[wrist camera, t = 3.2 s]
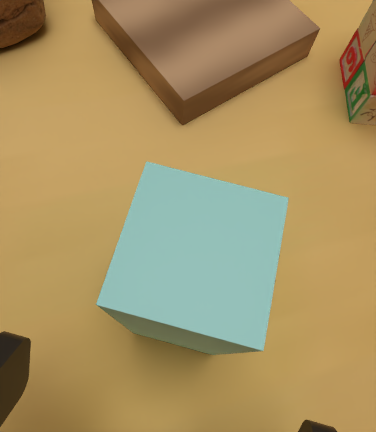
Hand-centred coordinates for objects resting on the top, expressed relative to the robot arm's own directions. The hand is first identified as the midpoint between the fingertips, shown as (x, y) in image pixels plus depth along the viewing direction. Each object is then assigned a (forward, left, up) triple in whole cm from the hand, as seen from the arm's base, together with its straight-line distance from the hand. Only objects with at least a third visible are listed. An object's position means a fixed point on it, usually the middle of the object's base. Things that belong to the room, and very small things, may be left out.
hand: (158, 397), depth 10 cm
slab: (-19, +16, -10) cm, 27 cm away
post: (-3, +3, -9) cm, 10 cm away
